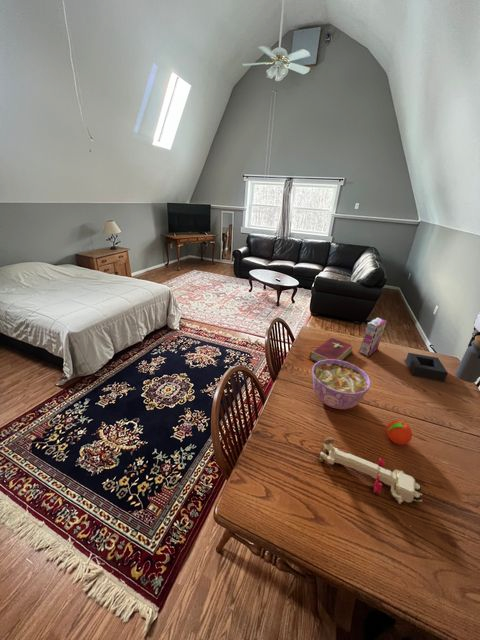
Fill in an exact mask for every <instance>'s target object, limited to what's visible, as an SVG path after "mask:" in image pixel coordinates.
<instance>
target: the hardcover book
mask: <svg viewBox="0 0 480 640" xmlns="http://www.w3.org/2000/svg"><path fill="white" fill-rule="evenodd" d="M354 346H355V345H354V344H351V343H350V342H346V341H343V340H340V339H338V338H336V337H334V336H331V337H330V338H328V339H327V340H325V341H324V342H323V343H321V344H320V345H319V346H317V347H316V348H315V349H313V350H312V351H310V353H309V360H310V361H313V362H315V363H317V362H319V361H321V360H326V359H335V360H341V361H345V360H346V359H347V358H348V357H349V356H350V355H351V354H352V353H353V348H354Z"/></svg>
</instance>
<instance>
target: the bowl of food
mask: <svg viewBox="0 0 480 640" xmlns="http://www.w3.org/2000/svg"><path fill="white" fill-rule="evenodd" d="M311 376H312V387H313V392H314V393H315V395H316V397H317V398H318V400H319V401H320V402H321V403H323V404H324V405H326V406H328V407H330V408H332V409H336V410H348V409H352V408H354V407H356V406H357V405H358V404H359V403H360V402H361V401H362V399H363V398H364V396H365V395H366V394H367V393H368V391H369V390H370V387H371V385H372V382H371V378H370V376H369V374H367V372H366V371H364V369H361V368H360V367H358V366H357V365H355V364H353V363H351V362H348V361H345V360H343V361H341V360H335V359H326V360H321V361H319V362H315V363H314V365H312V369H311Z"/></svg>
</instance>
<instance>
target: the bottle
mask: <svg viewBox="0 0 480 640" xmlns="http://www.w3.org/2000/svg"><path fill="white" fill-rule="evenodd" d="M471 345H472V346H469V347H468V346H467V348H466V349H465V351H464V354H463V356H462V357H461V360H460V362H459V363H458V365H457V368H456V370H455V374H454V375H455V376H456V377H457V378H458V379H459V380H461V381H463V382H466V383H470V384H471V383H476V382H477V381H478V379H479V378H480V359H479V358H478V354H479V352H480V335H478V336H475V340H473V341H472V343H471Z"/></svg>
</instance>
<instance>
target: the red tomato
mask: <svg viewBox="0 0 480 640" xmlns="http://www.w3.org/2000/svg"><path fill="white" fill-rule="evenodd" d="M385 430H386V436H387V437H388V439H389V440H390V441H391V442H393V443H395V444H396V445H400V446H401V445H408V443H410V441H412V438H413V431H412V429H411V426H409V425H408V424H407V423H406V422H405V421H403V420H391V421H390V422H388V424H387V425H386V429H385Z"/></svg>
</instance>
